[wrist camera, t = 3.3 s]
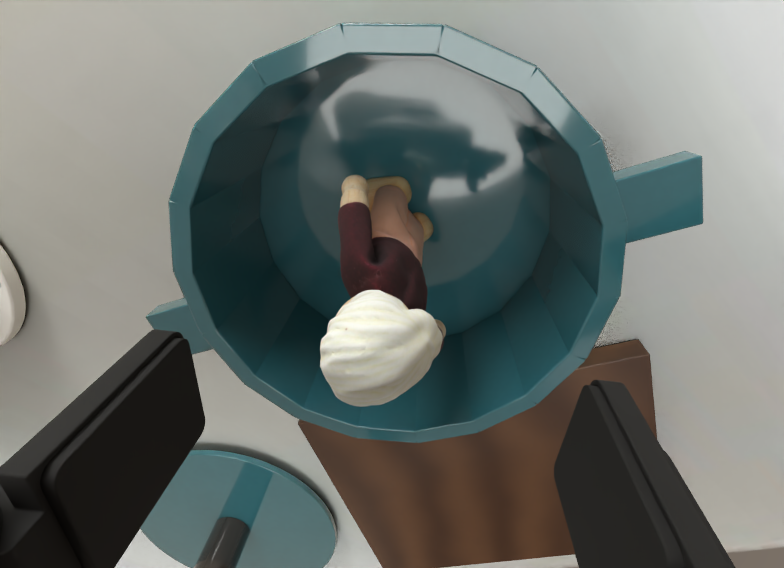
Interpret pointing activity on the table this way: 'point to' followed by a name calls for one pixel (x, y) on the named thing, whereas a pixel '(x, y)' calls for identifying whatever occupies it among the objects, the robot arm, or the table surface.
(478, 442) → the board
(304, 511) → the lid
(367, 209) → the grandmother figurine
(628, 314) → the table surface
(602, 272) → the pot
